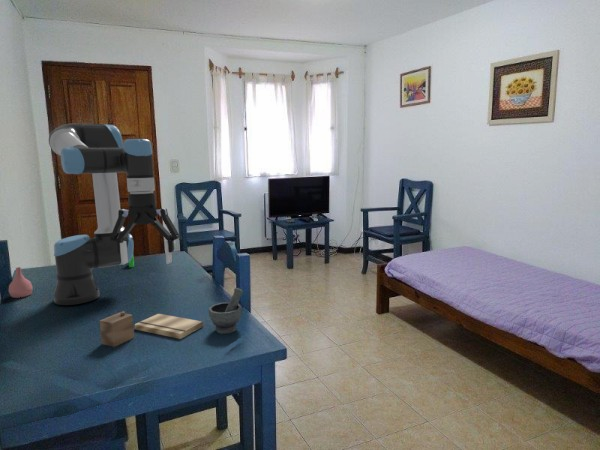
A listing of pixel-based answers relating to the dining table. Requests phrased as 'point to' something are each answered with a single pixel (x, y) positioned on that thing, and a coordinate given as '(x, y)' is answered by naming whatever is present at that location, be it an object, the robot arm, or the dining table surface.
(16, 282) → the pink teardrop-shaped piece
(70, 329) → the dining table surface
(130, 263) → the mechanical part
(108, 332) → the wooden block
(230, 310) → the mortar and pestle
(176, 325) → the plank
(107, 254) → the robot arm
